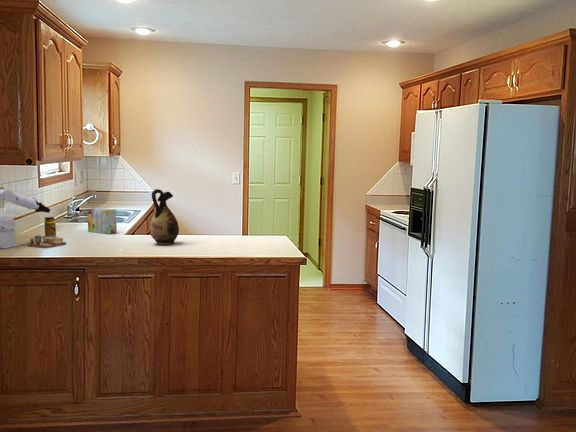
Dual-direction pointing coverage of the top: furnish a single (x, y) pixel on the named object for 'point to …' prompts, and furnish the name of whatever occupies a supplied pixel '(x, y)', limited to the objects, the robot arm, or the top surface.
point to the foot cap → (38, 238)
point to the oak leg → (53, 240)
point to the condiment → (49, 226)
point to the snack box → (102, 220)
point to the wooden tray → (43, 243)
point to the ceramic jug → (163, 220)
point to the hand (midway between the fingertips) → (47, 209)
